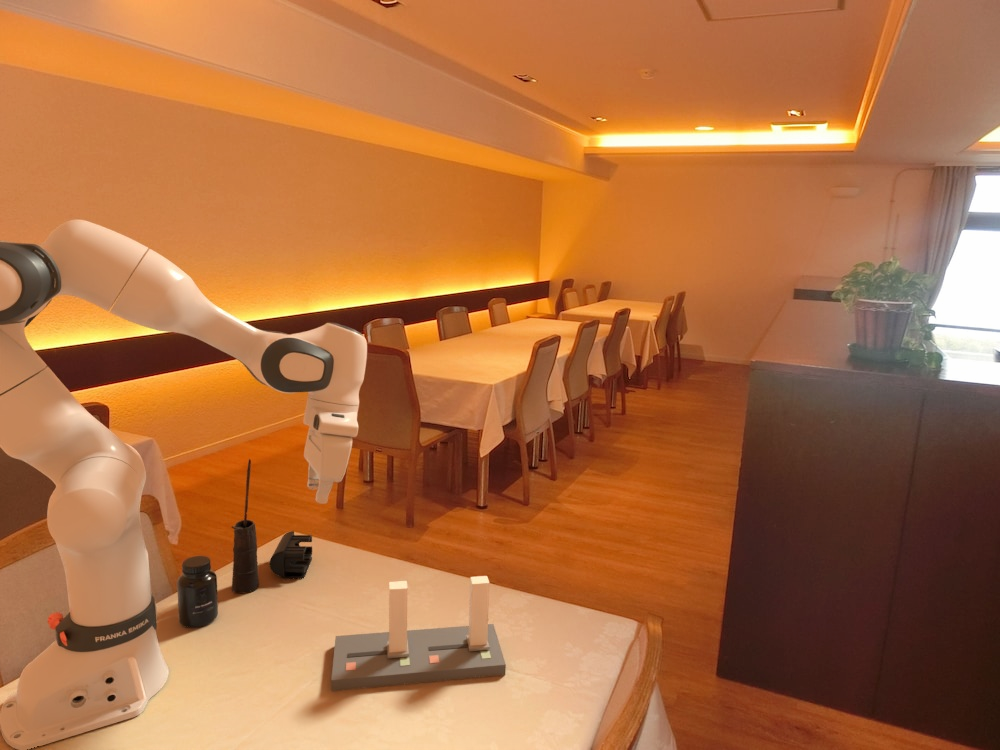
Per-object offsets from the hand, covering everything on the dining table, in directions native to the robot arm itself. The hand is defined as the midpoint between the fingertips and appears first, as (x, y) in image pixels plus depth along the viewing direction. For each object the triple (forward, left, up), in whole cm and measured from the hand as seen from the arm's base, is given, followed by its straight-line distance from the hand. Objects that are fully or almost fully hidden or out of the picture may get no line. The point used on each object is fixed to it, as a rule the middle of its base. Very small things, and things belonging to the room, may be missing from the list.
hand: (316, 495), depth 112 cm
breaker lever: (+20, -22, -26) cm, 39 cm away
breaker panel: (+11, -16, -28) cm, 34 cm away
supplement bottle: (-14, +21, -29) cm, 38 cm away
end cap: (+8, +28, -29) cm, 40 cm away
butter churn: (-4, +26, -29) cm, 39 cm away
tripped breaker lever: (+8, -14, -26) cm, 31 cm away
